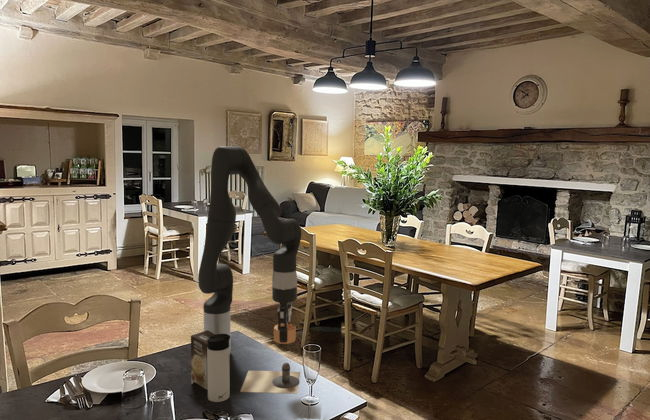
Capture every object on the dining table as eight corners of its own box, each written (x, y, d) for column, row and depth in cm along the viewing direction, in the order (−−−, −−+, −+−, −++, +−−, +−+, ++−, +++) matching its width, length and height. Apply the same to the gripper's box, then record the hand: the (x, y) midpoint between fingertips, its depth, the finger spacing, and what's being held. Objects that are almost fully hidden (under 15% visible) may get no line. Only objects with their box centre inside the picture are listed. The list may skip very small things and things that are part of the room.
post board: (240, 396, 142) (240, 371, 142) (248, 374, 156) (248, 352, 155) (297, 398, 142) (297, 373, 141) (300, 376, 156) (301, 353, 155)
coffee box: (190, 384, 149) (189, 335, 147) (207, 377, 154) (207, 329, 152) (206, 394, 143) (206, 343, 141) (224, 387, 148) (224, 337, 146)
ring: (272, 343, 144) (272, 330, 143) (275, 335, 150) (275, 323, 150) (294, 343, 143) (294, 331, 143) (296, 335, 150) (296, 323, 149)
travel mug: (225, 408, 136) (225, 340, 133) (204, 405, 137) (203, 338, 135) (234, 397, 142) (233, 332, 140) (213, 394, 143) (212, 330, 141)
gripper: (275, 278, 152) (276, 329, 154) (268, 291, 138) (269, 346, 140) (299, 278, 152) (299, 329, 154) (294, 291, 138) (294, 347, 139)
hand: (284, 337), depth 147 cm, fingers closed on ring, 6 cm apart
